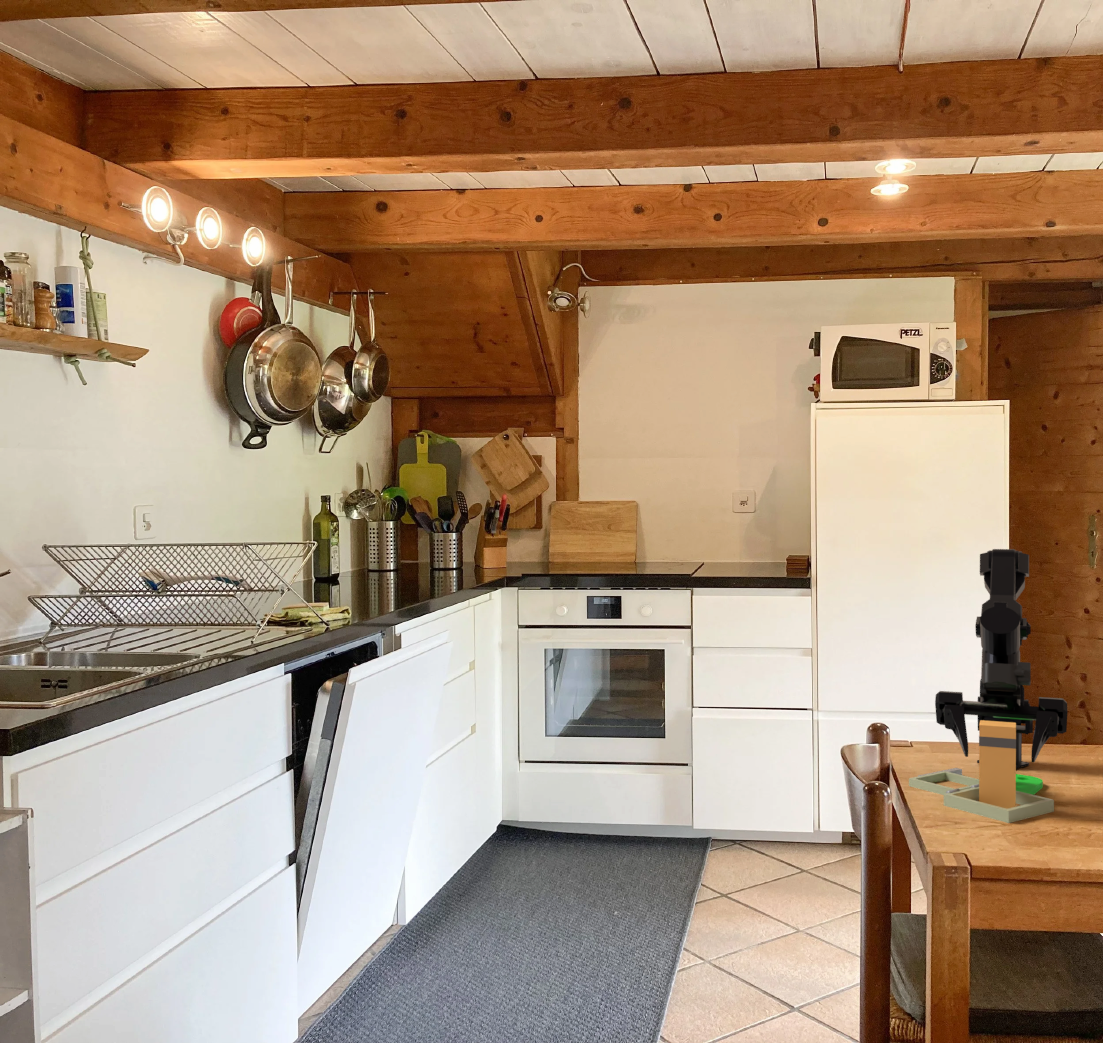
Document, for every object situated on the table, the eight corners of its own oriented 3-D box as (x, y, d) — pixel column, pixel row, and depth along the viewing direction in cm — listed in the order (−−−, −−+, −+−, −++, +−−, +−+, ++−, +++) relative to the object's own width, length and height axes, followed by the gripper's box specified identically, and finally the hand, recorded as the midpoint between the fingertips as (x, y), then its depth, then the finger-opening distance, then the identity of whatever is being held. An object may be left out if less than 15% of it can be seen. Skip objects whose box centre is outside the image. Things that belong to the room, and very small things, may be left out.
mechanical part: (1027, 806, 167) (1027, 754, 167) (987, 800, 170) (987, 749, 170) (1046, 790, 176) (1046, 741, 176) (1008, 784, 180) (1008, 737, 180)
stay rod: (956, 774, 186) (956, 767, 186) (962, 776, 185) (962, 769, 185) (917, 782, 180) (917, 775, 180) (923, 784, 179) (923, 777, 179)
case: (985, 799, 170) (985, 781, 170) (1053, 816, 160) (1053, 798, 160) (940, 809, 164) (940, 791, 164) (1008, 828, 154) (1008, 809, 154)
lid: (944, 783, 180) (944, 771, 180) (992, 795, 173) (992, 782, 172) (908, 790, 175) (908, 778, 175) (956, 803, 168) (956, 790, 168)
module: (979, 805, 164) (980, 720, 164) (1015, 808, 162) (1016, 722, 162) (978, 812, 161) (979, 725, 160) (1015, 816, 159) (1016, 727, 158)
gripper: (936, 639, 170) (930, 721, 160) (1067, 645, 163) (1070, 731, 153) (939, 682, 177) (934, 763, 167) (1064, 690, 170) (1067, 775, 160)
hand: (999, 758), depth 162 cm, fingers open, 9 cm apart
